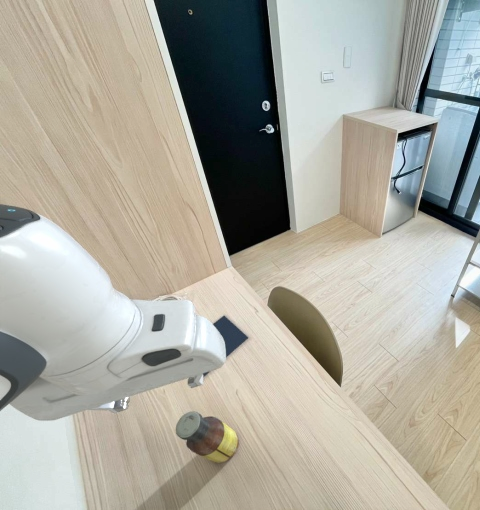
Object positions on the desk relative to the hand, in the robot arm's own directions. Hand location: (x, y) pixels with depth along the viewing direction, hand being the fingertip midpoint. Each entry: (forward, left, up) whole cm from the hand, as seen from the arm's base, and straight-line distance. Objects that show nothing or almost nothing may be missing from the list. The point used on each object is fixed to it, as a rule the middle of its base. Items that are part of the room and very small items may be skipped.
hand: (161, 393), depth 37 cm
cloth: (+12, +24, -32) cm, 42 cm away
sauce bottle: (0, 0, -32) cm, 32 cm away
